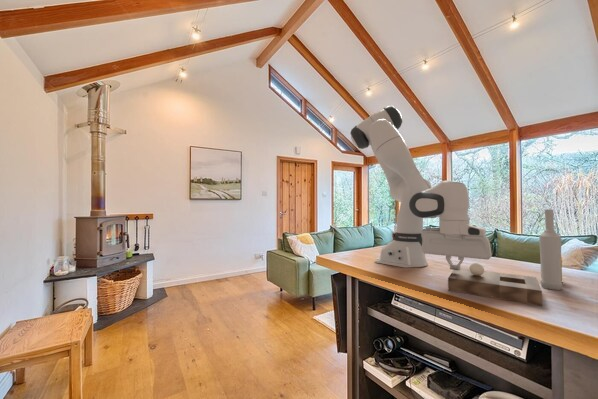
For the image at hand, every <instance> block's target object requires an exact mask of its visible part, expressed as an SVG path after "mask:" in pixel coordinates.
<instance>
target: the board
mask: <svg viewBox="0 0 598 399" xmlns="http://www.w3.org/2000/svg"><path fill="white" fill-rule="evenodd" d="M447 289H448V291H449V292H455V293H460V294H468V295H472V296H473V295H474V296H479V297H484V298H485V297H486V298H491V299H492V298H493V299H497V300H504V301H508V302H515V303H522V304H528V305H534V306H541V307H542V306H543V294H542V292H543V291H542V290H543V289H542V287H541V284H540V283H539V281H538V278H537V276H529V275H521V274H511V273H504V272H503V273H502V272H494V271H488V270H487V271H485V270H484V273H483V274H482V275H480V276H475V275H473V274H472V273H471V272H470V270H469V268H461V267H460V270H452V272H451V273H450V275H449V276H448V277H447Z"/></svg>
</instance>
